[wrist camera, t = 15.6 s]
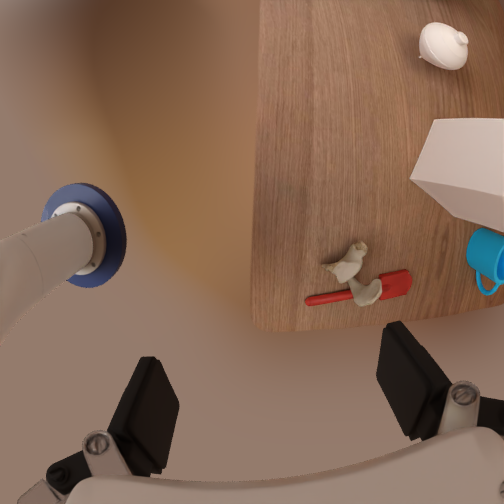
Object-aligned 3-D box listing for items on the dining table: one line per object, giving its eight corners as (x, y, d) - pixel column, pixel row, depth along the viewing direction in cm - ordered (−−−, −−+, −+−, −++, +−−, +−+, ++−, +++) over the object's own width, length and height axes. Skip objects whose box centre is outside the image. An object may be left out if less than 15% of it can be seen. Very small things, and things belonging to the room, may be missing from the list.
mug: (469, 228, 38) (498, 241, 30) (493, 227, 38) (520, 238, 30) (459, 288, 42) (484, 307, 34) (483, 282, 41) (507, 299, 34)
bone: (317, 234, 36) (378, 260, 28) (347, 228, 39) (404, 249, 32) (311, 290, 39) (364, 323, 32) (340, 279, 43) (390, 306, 35)
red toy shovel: (305, 311, 42) (306, 316, 40) (303, 287, 40) (305, 292, 39) (408, 290, 41) (412, 294, 40) (410, 268, 40) (414, 271, 38)
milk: (409, 178, 35) (554, 216, 11) (434, 119, 32) (568, 113, 7) (453, 216, 37) (571, 272, 12) (475, 161, 34) (592, 186, 9)
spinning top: (396, 32, 27) (436, 5, 16) (432, 44, 27) (475, 25, 16) (403, 72, 30) (449, 52, 18) (440, 83, 30) (487, 70, 18)
